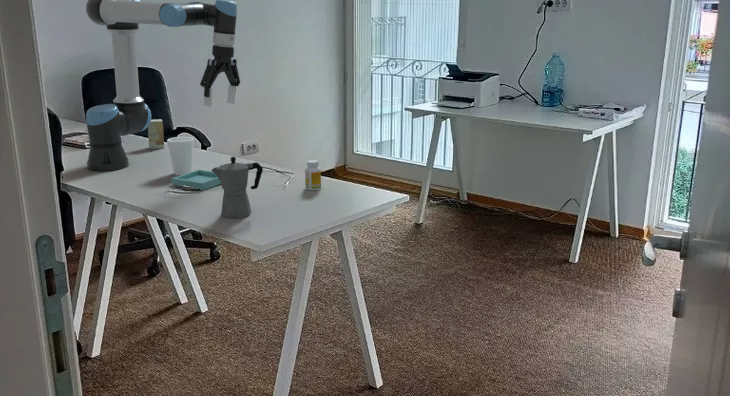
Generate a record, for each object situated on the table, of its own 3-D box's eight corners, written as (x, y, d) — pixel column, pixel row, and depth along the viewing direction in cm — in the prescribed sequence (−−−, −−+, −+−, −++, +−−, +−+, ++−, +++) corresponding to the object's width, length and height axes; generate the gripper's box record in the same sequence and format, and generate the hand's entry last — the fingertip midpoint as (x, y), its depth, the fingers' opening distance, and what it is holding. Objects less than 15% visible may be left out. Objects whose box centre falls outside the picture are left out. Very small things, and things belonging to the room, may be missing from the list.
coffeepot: (217, 221, 203) (213, 162, 198) (212, 212, 212) (208, 155, 206) (268, 215, 208) (265, 157, 203) (261, 206, 217) (258, 151, 212)
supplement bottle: (323, 187, 238) (323, 160, 235) (317, 191, 233) (316, 163, 230) (309, 185, 240) (308, 158, 237) (303, 189, 235) (302, 162, 232)
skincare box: (149, 149, 294) (147, 121, 290) (149, 147, 298) (146, 119, 294) (165, 148, 296) (162, 120, 292) (164, 146, 300) (161, 118, 296)
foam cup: (199, 170, 260) (197, 137, 256) (191, 176, 251) (188, 142, 247) (175, 169, 261) (172, 136, 257) (166, 176, 252) (163, 141, 248)
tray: (172, 185, 241) (171, 178, 240) (199, 175, 252) (199, 169, 252) (203, 190, 234) (202, 183, 233) (229, 180, 246) (229, 174, 245)
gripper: (209, 47, 230) (205, 109, 236) (252, 46, 252) (247, 103, 258) (192, 43, 233) (188, 105, 239) (235, 43, 255) (231, 100, 260)
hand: (219, 104), depth 248 cm, fingers open, 13 cm apart
